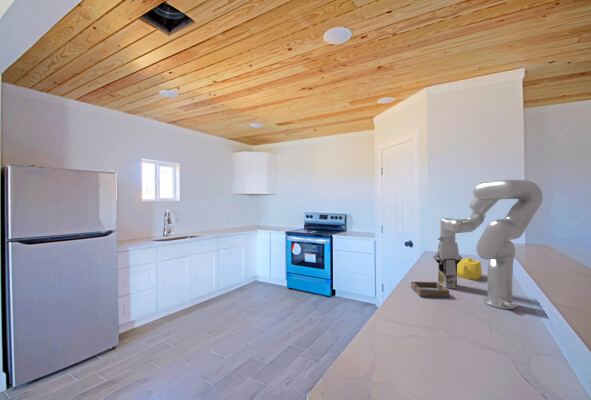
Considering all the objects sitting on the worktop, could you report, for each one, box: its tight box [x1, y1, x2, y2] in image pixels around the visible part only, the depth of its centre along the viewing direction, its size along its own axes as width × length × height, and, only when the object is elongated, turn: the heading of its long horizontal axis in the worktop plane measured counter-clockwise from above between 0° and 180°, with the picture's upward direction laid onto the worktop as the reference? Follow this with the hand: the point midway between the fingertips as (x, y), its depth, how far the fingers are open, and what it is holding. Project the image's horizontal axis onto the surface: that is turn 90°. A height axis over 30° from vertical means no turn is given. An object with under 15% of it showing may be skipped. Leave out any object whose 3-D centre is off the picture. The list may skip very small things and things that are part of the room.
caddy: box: [410, 281, 450, 299], centre depth 148 cm, size 14×14×4 cm
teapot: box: [457, 257, 483, 281], centre depth 176 cm, size 20×12×12 cm, turn 134°
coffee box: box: [437, 257, 458, 289], centre depth 159 cm, size 9×6×16 cm
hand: (447, 270), depth 159 cm, fingers closed on coffee box, 6 cm apart
